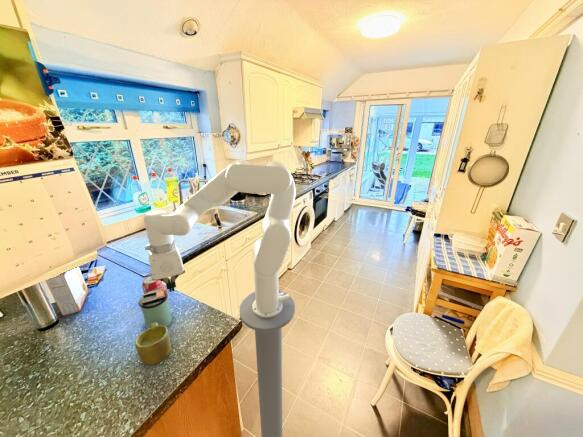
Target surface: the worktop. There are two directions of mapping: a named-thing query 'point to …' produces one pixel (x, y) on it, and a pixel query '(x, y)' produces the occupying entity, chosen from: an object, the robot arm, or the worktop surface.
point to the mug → (153, 344)
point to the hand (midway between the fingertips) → (172, 289)
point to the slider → (161, 293)
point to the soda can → (151, 284)
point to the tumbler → (155, 309)
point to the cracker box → (68, 291)
